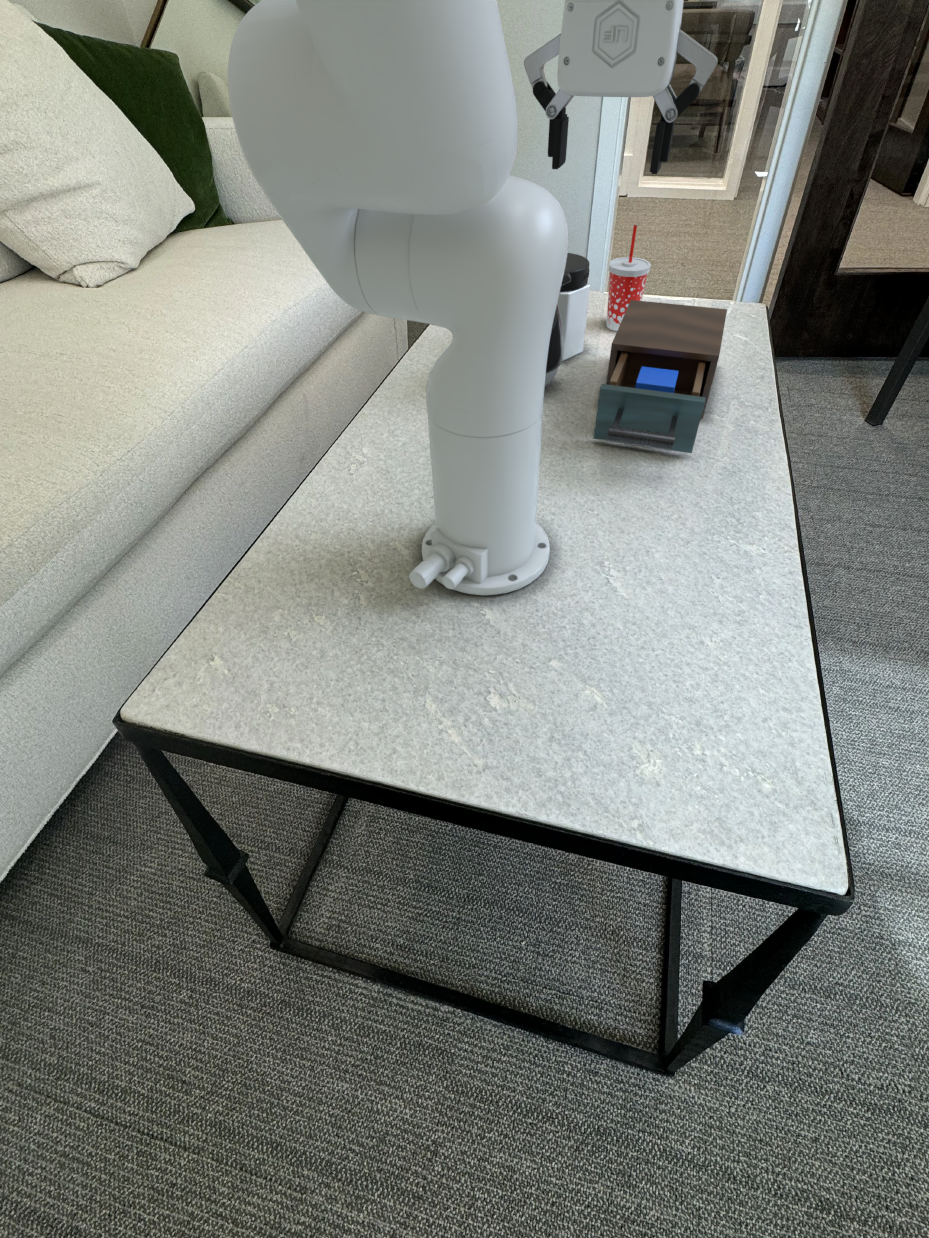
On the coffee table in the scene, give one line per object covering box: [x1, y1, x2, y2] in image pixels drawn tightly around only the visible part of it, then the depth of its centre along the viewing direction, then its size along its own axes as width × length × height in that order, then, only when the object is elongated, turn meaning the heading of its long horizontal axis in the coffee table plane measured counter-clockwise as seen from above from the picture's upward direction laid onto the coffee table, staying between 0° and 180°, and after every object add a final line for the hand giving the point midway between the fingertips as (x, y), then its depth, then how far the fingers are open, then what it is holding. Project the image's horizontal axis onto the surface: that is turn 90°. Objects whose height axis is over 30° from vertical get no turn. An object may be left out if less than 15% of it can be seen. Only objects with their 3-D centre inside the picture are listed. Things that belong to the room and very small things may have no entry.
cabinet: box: [605, 300, 728, 420], centre depth 84 cm, size 15×13×8 cm
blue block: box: [635, 366, 679, 393], centre depth 77 cm, size 4×4×4 cm
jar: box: [557, 252, 591, 362], centre depth 92 cm, size 9×8×12 cm
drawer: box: [593, 351, 706, 454], centre depth 75 cm, size 20×11×6 cm, turn 161°
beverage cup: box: [605, 224, 652, 332], centre depth 96 cm, size 6×6×14 cm
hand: (606, 168), depth 64 cm, fingers open, 9 cm apart
